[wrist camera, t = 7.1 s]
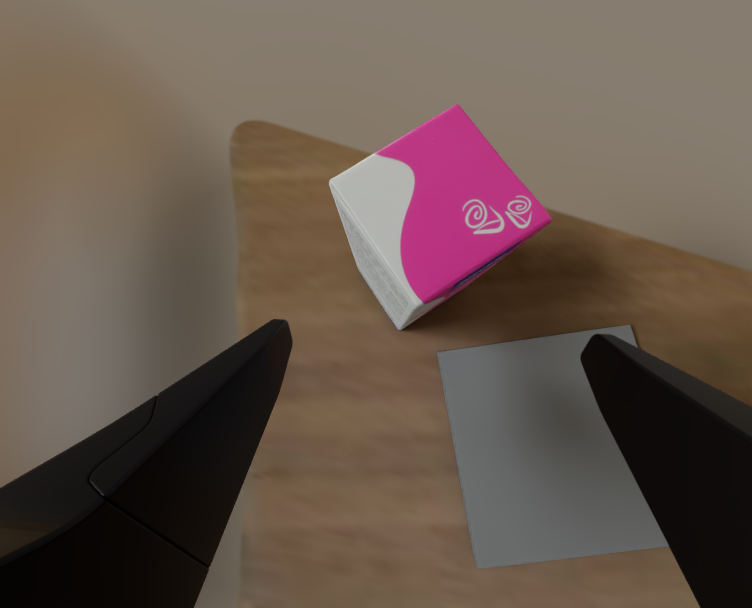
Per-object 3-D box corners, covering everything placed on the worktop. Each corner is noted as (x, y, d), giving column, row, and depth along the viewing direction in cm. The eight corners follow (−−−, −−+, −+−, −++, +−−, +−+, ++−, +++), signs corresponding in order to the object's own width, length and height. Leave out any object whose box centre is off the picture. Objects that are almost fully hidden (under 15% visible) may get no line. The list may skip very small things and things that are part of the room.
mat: (684, 533, 17) (699, 542, 16) (474, 558, 17) (478, 568, 16) (620, 325, 19) (630, 324, 18) (436, 351, 19) (438, 352, 19)
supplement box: (400, 334, 20) (412, 312, 8) (357, 270, 21) (318, 173, 9) (465, 292, 20) (561, 215, 9) (420, 230, 21) (453, 91, 10)
